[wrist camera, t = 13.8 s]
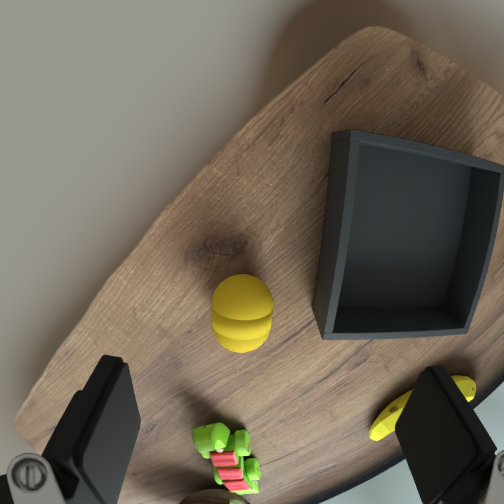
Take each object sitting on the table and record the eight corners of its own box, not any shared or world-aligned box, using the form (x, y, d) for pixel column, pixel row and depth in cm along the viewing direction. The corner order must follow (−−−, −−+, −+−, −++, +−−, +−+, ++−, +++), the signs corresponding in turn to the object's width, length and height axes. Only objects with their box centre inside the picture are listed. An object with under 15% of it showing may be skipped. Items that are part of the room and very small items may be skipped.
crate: (331, 132, 27) (350, 129, 21) (472, 160, 27) (506, 166, 22) (311, 309, 32) (322, 340, 27) (442, 309, 33) (466, 334, 27)
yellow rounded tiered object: (209, 265, 30) (214, 290, 25) (267, 264, 31) (283, 289, 26) (209, 332, 33) (214, 366, 27) (261, 330, 34) (274, 362, 29)
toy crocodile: (265, 478, 43) (266, 506, 37) (226, 481, 43) (224, 509, 38) (239, 405, 37) (237, 441, 31) (189, 409, 37) (181, 444, 32)
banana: (360, 443, 34) (394, 462, 40) (475, 372, 30) (484, 407, 35) (352, 416, 38) (387, 441, 44) (459, 348, 34) (473, 388, 39)
